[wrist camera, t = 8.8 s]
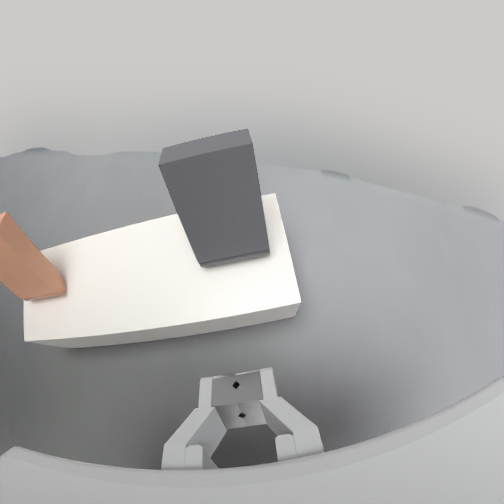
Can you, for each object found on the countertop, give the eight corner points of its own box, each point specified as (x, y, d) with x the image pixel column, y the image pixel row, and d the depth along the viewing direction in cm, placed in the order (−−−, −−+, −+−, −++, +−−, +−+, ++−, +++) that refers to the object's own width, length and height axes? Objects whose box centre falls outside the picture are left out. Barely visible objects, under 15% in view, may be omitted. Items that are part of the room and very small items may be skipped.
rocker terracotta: (63, 299, 22) (-4, 231, 14) (28, 305, 22) (-35, 246, 14) (68, 280, 23) (6, 210, 16) (33, 288, 23) (-26, 227, 16)
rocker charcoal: (271, 260, 21) (252, 143, 14) (203, 274, 21) (158, 164, 14) (266, 240, 22) (247, 128, 16) (202, 253, 23) (162, 148, 16)
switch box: (295, 316, 28) (301, 302, 21) (70, 348, 29) (24, 341, 21) (275, 230, 31) (274, 191, 24) (68, 274, 32) (26, 253, 24)
